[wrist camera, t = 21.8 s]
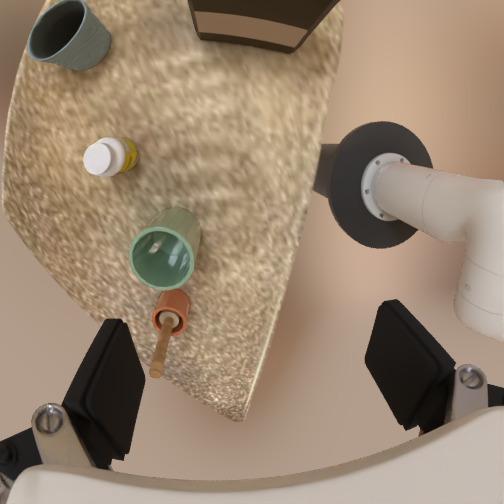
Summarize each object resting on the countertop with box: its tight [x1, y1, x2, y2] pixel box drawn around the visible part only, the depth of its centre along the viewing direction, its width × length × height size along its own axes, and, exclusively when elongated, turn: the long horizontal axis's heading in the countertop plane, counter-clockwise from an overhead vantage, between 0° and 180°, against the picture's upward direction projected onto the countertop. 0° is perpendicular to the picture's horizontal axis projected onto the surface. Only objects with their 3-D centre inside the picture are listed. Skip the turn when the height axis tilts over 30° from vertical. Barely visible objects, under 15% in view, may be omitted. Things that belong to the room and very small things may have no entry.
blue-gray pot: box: [27, 0, 111, 71], centre depth 23 cm, size 10×10×12 cm
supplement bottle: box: [83, 137, 139, 177], centre depth 32 cm, size 5×5×10 cm
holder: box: [152, 289, 190, 336], centre depth 43 cm, size 6×6×6 cm
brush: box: [149, 309, 180, 378], centre depth 38 cm, size 3×3×17 cm
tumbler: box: [129, 207, 201, 291], centre depth 36 cm, size 8×8×11 cm
